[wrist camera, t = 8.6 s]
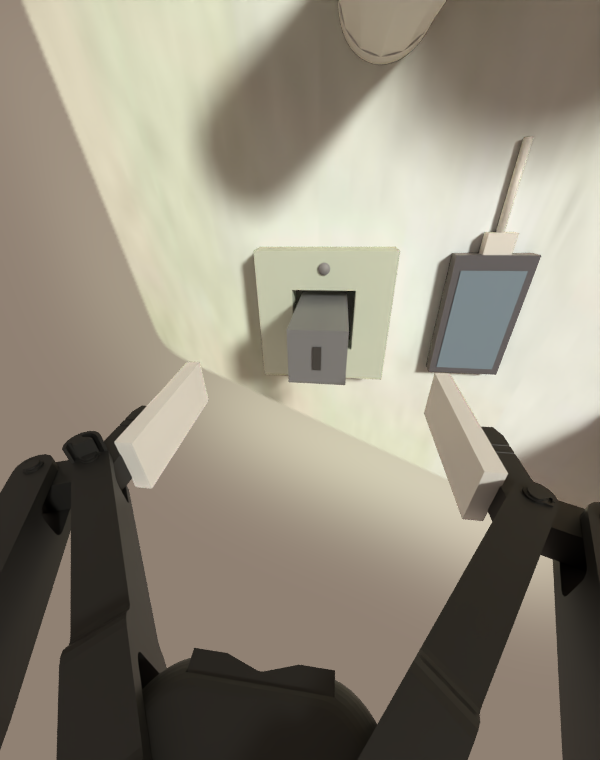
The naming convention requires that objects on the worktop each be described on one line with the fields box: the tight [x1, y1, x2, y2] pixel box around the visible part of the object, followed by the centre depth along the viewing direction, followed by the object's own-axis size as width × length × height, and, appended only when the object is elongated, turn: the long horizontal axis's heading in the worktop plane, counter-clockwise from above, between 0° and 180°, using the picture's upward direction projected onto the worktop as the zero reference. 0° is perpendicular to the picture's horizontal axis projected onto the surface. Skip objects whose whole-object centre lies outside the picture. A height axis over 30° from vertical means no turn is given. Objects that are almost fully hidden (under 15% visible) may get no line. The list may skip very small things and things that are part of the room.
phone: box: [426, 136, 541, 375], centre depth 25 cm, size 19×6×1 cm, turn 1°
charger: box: [287, 291, 349, 385], centre depth 25 cm, size 4×4×10 cm
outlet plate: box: [253, 247, 400, 380], centre depth 28 cm, size 12×12×3 cm
